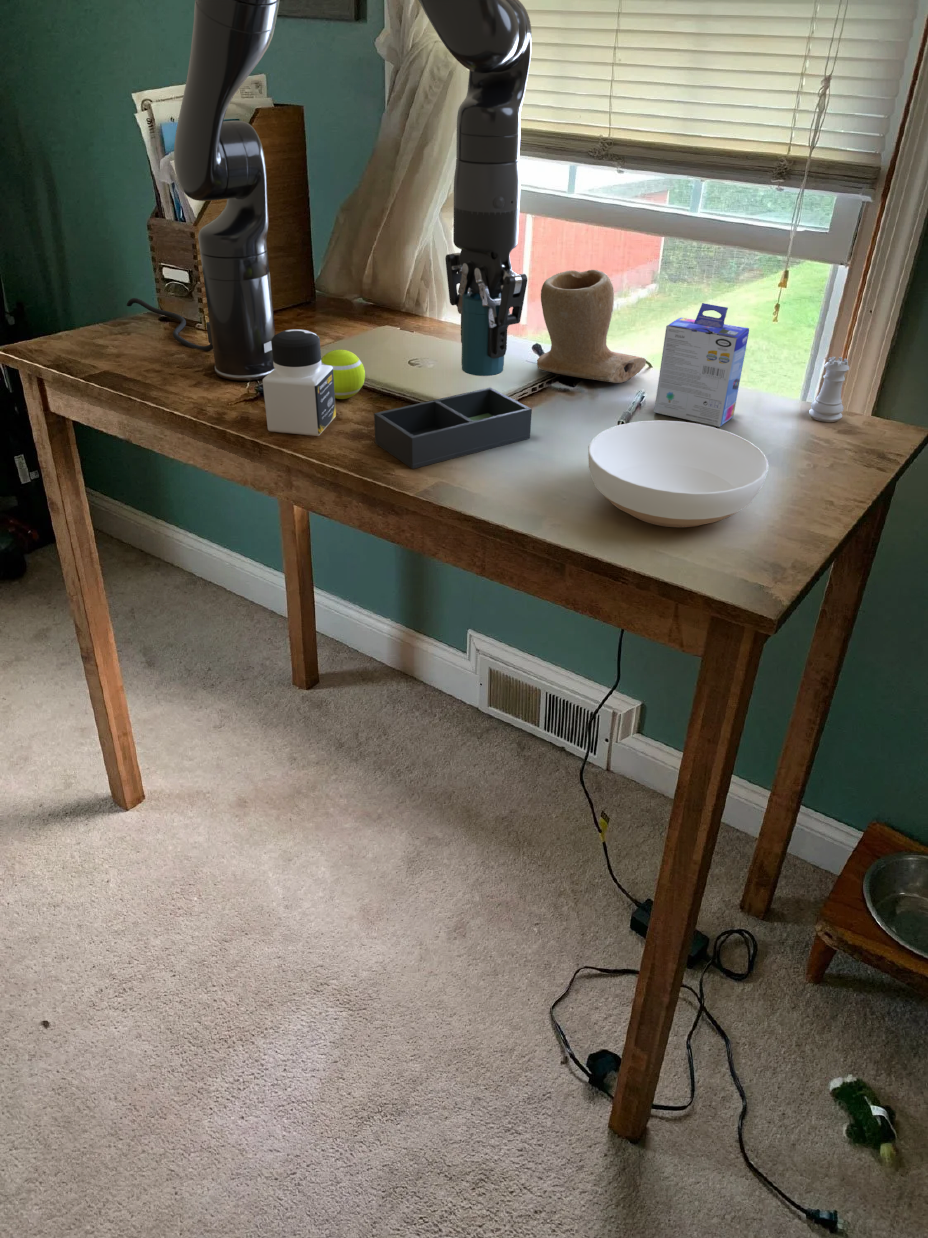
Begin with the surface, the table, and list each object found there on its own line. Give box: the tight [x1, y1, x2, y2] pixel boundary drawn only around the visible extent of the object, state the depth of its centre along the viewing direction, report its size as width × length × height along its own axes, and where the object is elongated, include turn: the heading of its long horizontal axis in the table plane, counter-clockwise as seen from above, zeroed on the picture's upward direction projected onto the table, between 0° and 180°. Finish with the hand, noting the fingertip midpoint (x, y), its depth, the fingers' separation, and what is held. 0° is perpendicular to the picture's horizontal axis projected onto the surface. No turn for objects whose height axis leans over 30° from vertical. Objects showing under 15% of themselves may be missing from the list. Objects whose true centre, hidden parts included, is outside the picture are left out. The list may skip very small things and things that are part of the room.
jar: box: [461, 292, 505, 377], centre depth 116 cm, size 5×5×9 cm
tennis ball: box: [321, 348, 366, 400], centre depth 131 cm, size 7×7×7 cm
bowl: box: [587, 420, 770, 528], centre depth 105 cm, size 20×20×6 cm
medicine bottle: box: [262, 328, 337, 437], centre depth 121 cm, size 7×7×12 cm
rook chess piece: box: [808, 356, 851, 423], centre depth 127 cm, size 4×4×8 cm
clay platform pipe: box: [536, 269, 647, 384], centre depth 138 cm, size 15×12×15 cm
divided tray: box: [373, 386, 533, 470], centre depth 120 cm, size 9×18×4 cm, turn 124°
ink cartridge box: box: [653, 302, 750, 428], centre depth 125 cm, size 10×6×14 cm, turn 58°
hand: (482, 349), depth 117 cm, fingers closed on jar, 5 cm apart
